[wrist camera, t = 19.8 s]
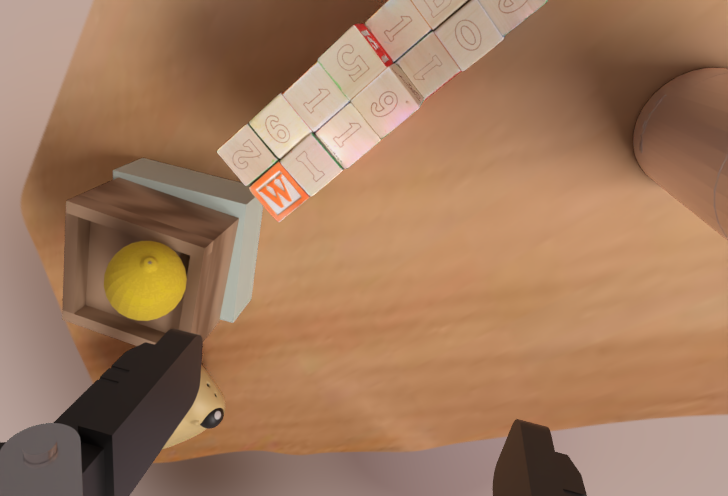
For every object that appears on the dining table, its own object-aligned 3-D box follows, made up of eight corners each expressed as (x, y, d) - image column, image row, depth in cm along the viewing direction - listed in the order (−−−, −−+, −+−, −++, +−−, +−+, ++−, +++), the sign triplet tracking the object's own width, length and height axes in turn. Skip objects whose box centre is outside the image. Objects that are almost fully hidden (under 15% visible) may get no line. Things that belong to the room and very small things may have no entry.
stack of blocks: (482, -67, 37) (493, -107, 25) (531, 7, 38) (562, 1, 27) (273, 120, 45) (212, 152, 33) (320, 176, 46) (275, 225, 35)
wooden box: (239, 218, 44) (204, 248, 38) (219, 322, 48) (185, 363, 42) (118, 177, 44) (66, 200, 38) (110, 284, 49) (62, 319, 43)
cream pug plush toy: (260, 388, 57) (219, 462, 47) (179, 418, 61) (126, 492, 51) (210, 316, 54) (156, 380, 44) (129, 353, 58) (63, 418, 48)
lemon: (113, 340, 39) (114, 311, 32) (97, 272, 40) (94, 231, 33) (188, 321, 41) (202, 291, 35) (170, 258, 43) (181, 217, 36)
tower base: (266, 187, 47) (246, 204, 43) (252, 297, 52) (233, 322, 48) (145, 156, 48) (112, 170, 44) (143, 267, 53) (113, 289, 49)
